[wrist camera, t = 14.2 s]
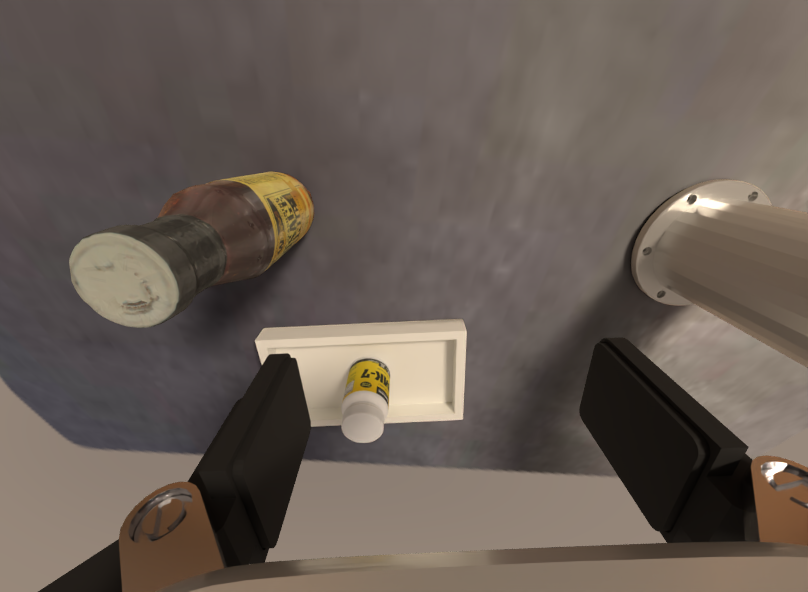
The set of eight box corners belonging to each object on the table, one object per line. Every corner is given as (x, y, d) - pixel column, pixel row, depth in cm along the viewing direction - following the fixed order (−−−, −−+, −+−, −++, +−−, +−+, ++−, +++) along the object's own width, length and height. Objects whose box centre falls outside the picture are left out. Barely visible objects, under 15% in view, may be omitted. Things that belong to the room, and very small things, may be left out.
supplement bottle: (397, 366, 38) (397, 423, 31) (376, 393, 40) (371, 453, 32) (362, 348, 37) (352, 402, 29) (341, 376, 39) (328, 434, 31)
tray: (462, 318, 36) (466, 330, 34) (459, 404, 42) (462, 419, 39) (263, 328, 36) (254, 340, 34) (286, 412, 42) (280, 427, 40)
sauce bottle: (309, 246, 32) (200, 380, 15) (244, 225, 31) (42, 341, 14) (325, 180, 30) (217, 246, 12) (256, 155, 29) (23, 185, 11)
